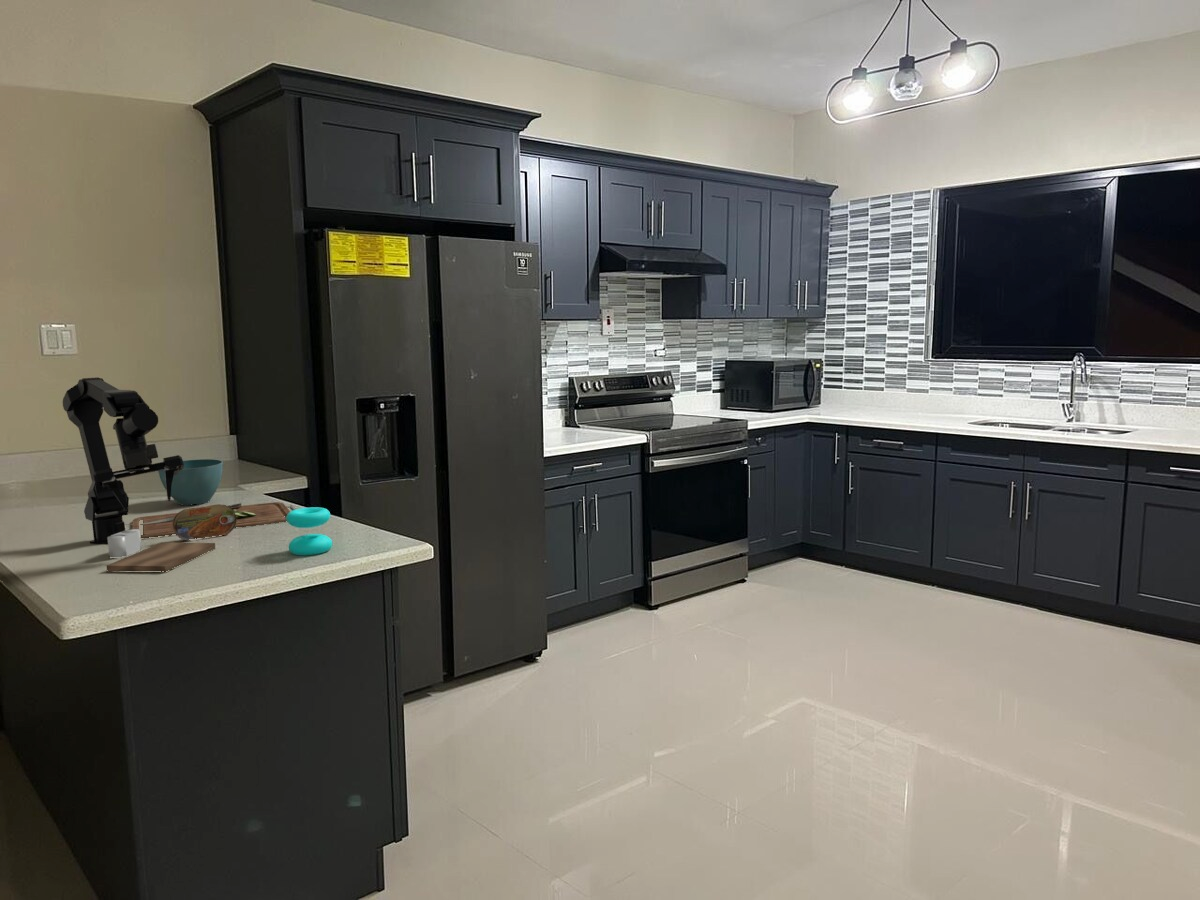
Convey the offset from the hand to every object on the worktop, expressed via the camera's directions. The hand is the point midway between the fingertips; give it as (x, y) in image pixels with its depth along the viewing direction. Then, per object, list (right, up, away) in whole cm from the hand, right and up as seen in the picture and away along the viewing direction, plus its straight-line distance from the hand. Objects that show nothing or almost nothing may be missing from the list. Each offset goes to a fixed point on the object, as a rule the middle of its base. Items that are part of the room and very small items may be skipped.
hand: (148, 505), depth 202 cm
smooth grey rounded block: (-8, -12, +5) cm, 15 cm away
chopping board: (-2, -7, +39) cm, 40 cm away
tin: (+5, -10, +20) cm, 23 cm away
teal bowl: (-20, -3, +64) cm, 67 cm away
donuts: (+37, -11, +4) cm, 39 cm away
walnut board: (+4, -13, -1) cm, 13 cm away
